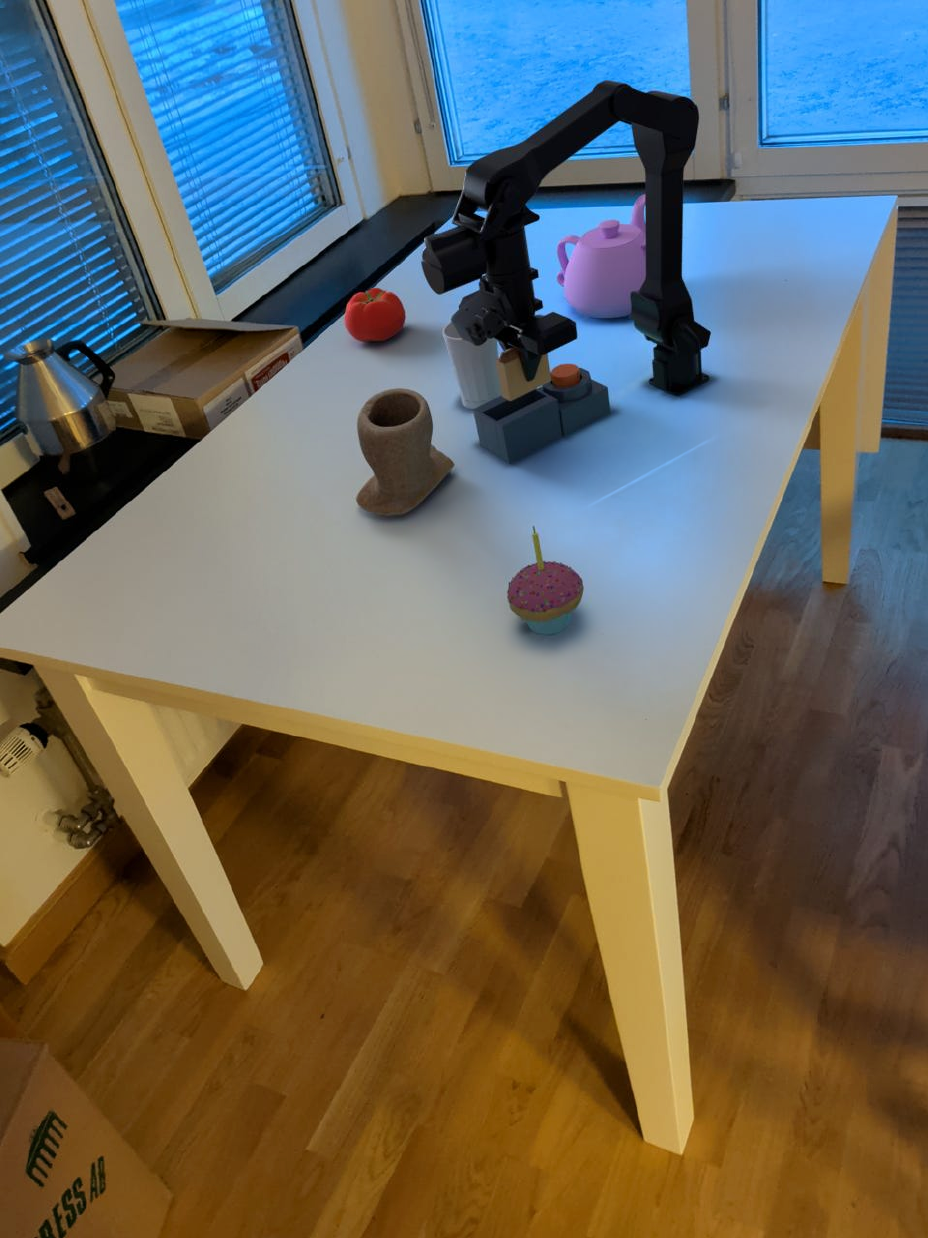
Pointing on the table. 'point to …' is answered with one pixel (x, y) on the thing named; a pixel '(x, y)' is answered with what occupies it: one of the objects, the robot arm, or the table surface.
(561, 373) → the button
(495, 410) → the toaster
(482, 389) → the cup
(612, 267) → the teapot
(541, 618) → the cupcake
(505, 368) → the tan slab
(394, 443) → the stone cup
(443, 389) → the table surface
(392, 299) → the tomato
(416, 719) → the table surface
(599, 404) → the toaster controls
